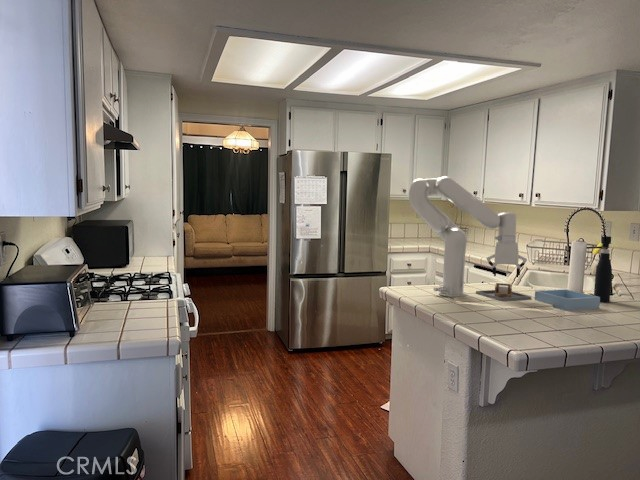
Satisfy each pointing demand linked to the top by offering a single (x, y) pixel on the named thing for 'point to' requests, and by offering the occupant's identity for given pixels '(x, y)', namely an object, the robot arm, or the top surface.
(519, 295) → the tray
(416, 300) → the top surface
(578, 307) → the bin
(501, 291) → the stone
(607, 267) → the dark water bottle
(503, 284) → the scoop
